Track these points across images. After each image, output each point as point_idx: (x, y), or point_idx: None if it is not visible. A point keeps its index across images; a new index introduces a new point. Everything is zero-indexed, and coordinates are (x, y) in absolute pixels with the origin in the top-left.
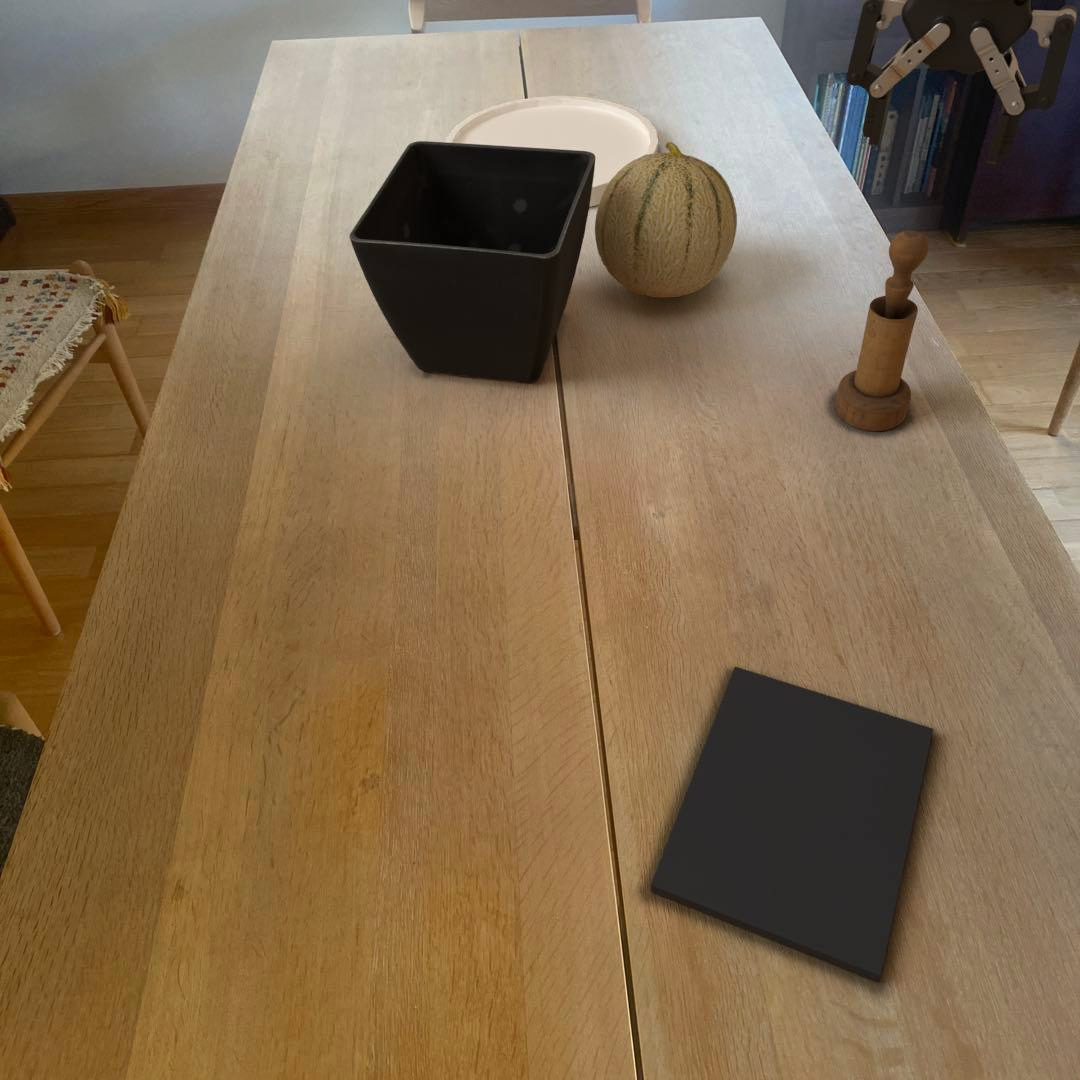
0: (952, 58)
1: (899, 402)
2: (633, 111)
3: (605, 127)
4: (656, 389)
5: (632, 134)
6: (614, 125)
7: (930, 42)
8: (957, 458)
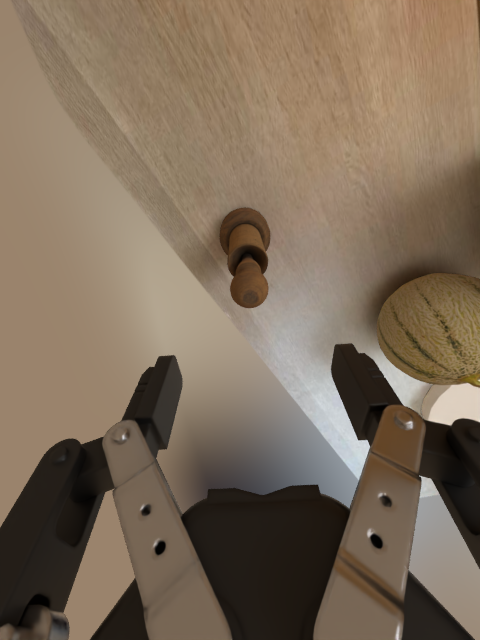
0: (271, 528)
1: (224, 229)
2: None
3: None
4: (402, 184)
5: (442, 422)
6: None
7: (365, 590)
8: (176, 207)
